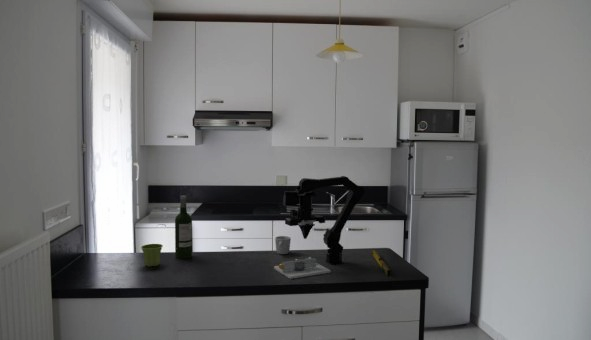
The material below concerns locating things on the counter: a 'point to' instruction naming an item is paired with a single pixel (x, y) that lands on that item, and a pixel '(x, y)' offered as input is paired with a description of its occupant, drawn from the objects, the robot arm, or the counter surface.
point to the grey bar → (298, 264)
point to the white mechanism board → (304, 271)
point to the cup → (282, 244)
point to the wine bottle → (183, 232)
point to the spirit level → (381, 262)
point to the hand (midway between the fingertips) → (305, 238)
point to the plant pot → (152, 254)
